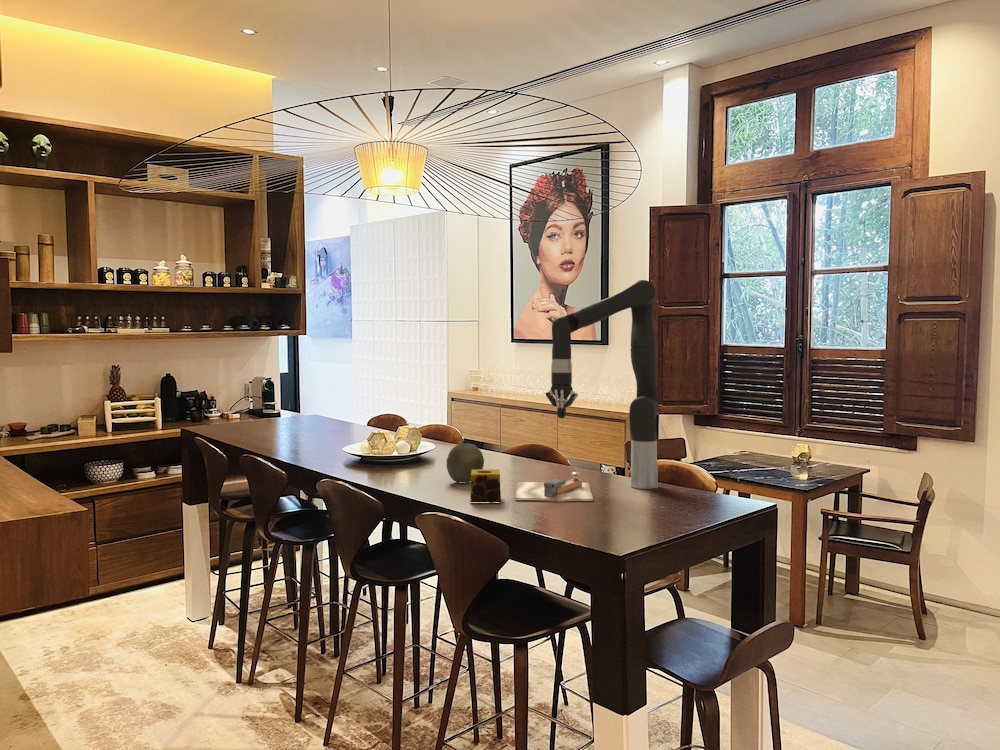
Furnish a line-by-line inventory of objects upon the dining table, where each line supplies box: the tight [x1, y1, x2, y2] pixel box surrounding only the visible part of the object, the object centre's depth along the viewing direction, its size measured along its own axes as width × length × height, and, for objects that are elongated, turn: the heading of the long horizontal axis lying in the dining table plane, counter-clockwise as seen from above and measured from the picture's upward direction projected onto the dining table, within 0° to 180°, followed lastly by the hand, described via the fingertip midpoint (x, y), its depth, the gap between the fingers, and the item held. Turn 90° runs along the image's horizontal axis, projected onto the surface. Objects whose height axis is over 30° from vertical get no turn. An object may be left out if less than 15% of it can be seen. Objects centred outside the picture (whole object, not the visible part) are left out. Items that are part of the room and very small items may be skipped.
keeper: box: [543, 478, 567, 497], centre depth 262 cm, size 8×4×4 cm, turn 147°
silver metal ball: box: [570, 471, 582, 480], centre depth 275 cm, size 3×3×3 cm
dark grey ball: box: [446, 442, 485, 483], centre depth 287 cm, size 14×14×15 cm
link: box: [556, 478, 583, 494], centre depth 270 cm, size 18×4×2 cm, turn 146°
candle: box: [469, 468, 502, 502], centre depth 257 cm, size 10×10×10 cm
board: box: [515, 481, 594, 502], centre depth 270 cm, size 26×28×1 cm
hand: (561, 418), depth 282 cm, fingers closed
